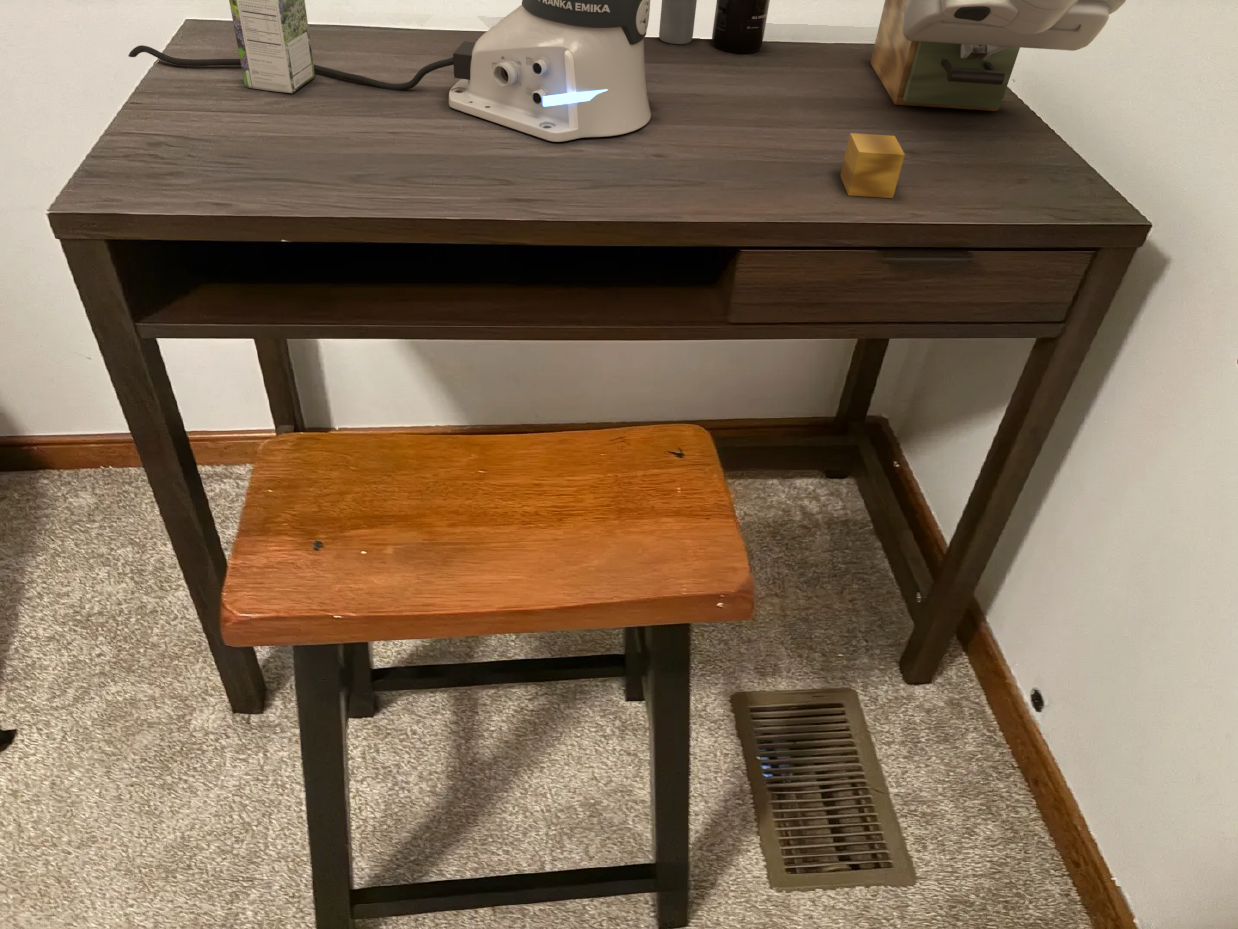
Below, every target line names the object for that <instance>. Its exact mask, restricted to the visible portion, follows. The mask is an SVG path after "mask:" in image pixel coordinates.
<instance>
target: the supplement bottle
mask: <svg viewBox="0 0 1238 929" xmlns="http://www.w3.org/2000/svg"><path fill="white" fill-rule="evenodd" d="M770 2H771V0H716V3H715V11H714V17H713V18H714V19H713V26H712V34H711V42H712V44H713V45H714V46H715V47H716V48H717V49H720V50H722V51H726V52H730V53H736V54H751V53H756V52H758V51H759V50H760V49H761V48H762V47H763V42H764V38H765V31H766V26H767V25H766V24H767V19H768V13H769V7H770Z"/></svg>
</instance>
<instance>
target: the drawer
mask: <svg viewBox="0 0 1238 929" xmlns="http://www.w3.org/2000/svg"><path fill="white" fill-rule="evenodd" d="M961 45H962V44H956V43H939V42H923V41H918V44H917V48H916V52H915V55H914V59H913V63H912V67H911V70H910V74H909V78H908V82H907V85H906V89H905V93H904V97H903V100H904V101H905V103H918V104H934V105H949V106H965V107H980V108H996V109H998V110H1000V108H1001V105H1002V102H1003V99H1004V96H1005V93H1006V91H1007V88H1008V86H1009V85H1008V84H1009V81H1010V79H1011V76H1012V73H1013V70H1014V67H1015V64H1016V61H1017V58H1018V55H1019V52H1020V50H1021V47H1009V48H1007V49H1004V50H1002V51H999V52H996V53H994V54H993V53H992V55H991V56H990V57H989V58H988V59H987V60H982V59H966V58H961Z"/></svg>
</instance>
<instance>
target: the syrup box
mask: <svg viewBox="0 0 1238 929" xmlns="http://www.w3.org/2000/svg"><path fill="white" fill-rule="evenodd" d="M228 1H229V8H230V13H231V18H232V24H233V28H234V34H235V39H236V40H235V41H236V45H237V51H238V55H239V59H240V61H241V65H240V67H241V72H242V77H243V82H244V86H245V87H246V88H249V89H256V90H261V91H262V90H263V91H271V92H276V93H277V92H278V93H285V94H294V93H295V92H296V91H298V90H299V89H301V88H302V87H303V86H304V85H306V84H308V83H309V82H310V81H311V80H313V79H314V78H315V76H316V73H315V71H314V65H315V64H314V59H313V51H312V43H311V38H310V37H311V36H310V30H309V29H310V28H309V23H308V21H309V20H308V16H307V8H306V1H305V0H228Z"/></svg>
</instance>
